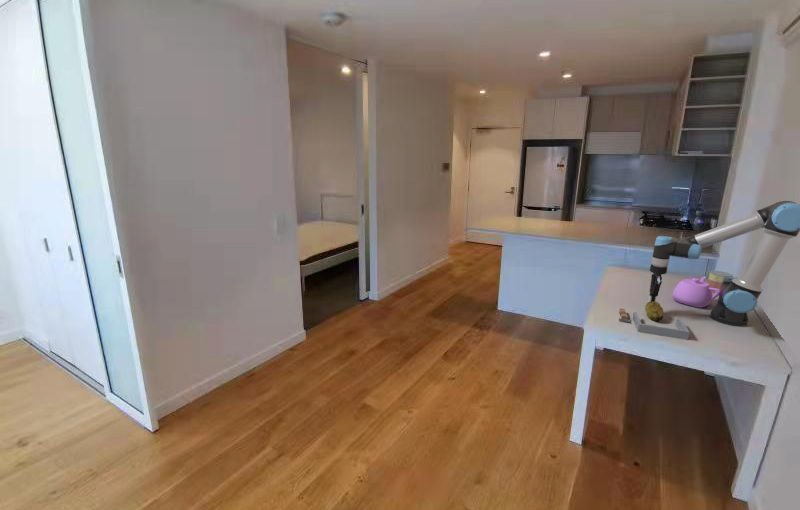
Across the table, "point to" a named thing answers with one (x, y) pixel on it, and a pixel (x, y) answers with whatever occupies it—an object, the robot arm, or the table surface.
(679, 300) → the teapot
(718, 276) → the canned food
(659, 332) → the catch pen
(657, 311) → the potato
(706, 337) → the table surface
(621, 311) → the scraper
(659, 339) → the table surface
